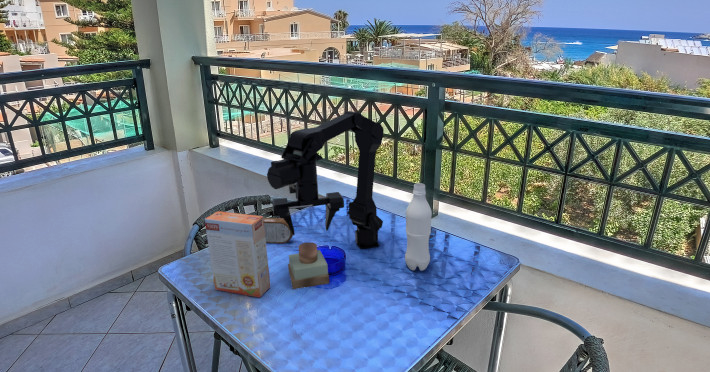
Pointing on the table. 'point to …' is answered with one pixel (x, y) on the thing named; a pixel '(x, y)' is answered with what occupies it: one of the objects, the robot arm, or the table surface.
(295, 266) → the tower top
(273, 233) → the tin
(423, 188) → the water bottle
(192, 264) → the table surface
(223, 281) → the cracker box
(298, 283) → the tower base
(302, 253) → the puck
